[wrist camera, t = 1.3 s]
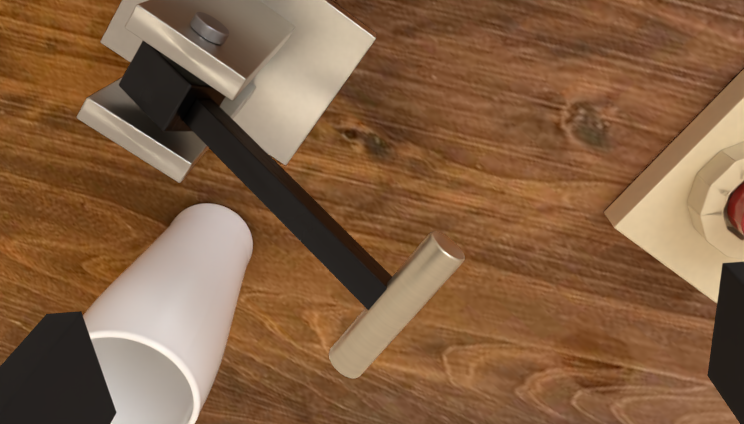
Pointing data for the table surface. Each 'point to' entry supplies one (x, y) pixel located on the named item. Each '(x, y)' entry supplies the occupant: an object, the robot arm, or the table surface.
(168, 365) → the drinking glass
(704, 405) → the table surface
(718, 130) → the button block
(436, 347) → the table surface
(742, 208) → the button
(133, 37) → the bracket
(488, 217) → the table surface
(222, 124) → the lever
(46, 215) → the table surface
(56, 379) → the robot arm
